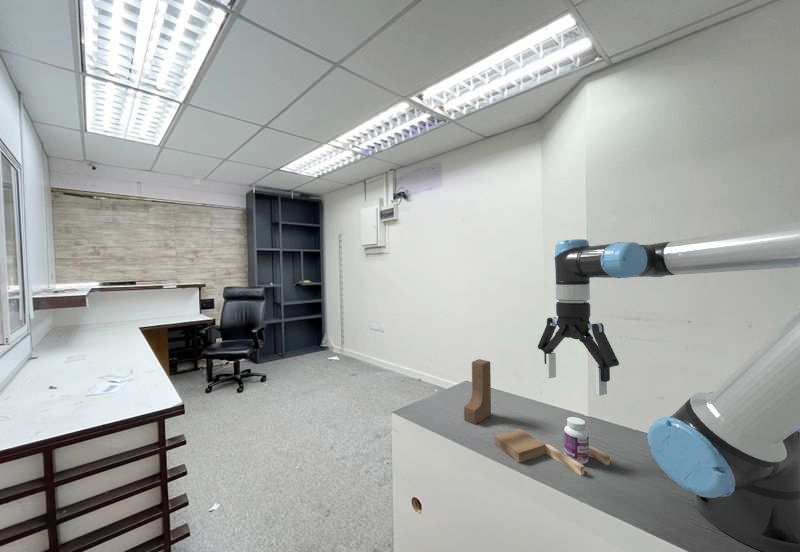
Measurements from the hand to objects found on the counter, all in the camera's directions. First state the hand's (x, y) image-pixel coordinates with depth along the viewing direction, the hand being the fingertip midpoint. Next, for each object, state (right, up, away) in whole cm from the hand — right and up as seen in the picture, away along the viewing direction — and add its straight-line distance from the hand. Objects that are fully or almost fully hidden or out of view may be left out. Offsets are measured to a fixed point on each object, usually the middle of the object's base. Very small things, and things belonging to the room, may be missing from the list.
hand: (574, 385), depth 77 cm
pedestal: (-12, -19, +4) cm, 23 cm away
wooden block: (-19, -19, +22) cm, 35 cm away
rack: (0, -18, 0) cm, 19 cm away
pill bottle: (0, -19, 0) cm, 19 cm away
